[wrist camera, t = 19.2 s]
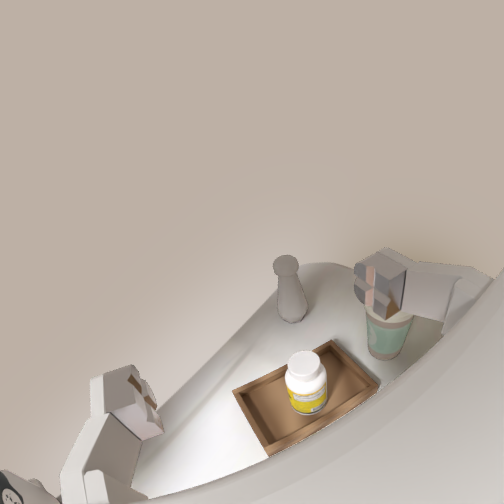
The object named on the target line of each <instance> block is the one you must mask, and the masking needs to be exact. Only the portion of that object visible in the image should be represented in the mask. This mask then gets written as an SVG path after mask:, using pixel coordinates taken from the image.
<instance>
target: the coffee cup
mask: <svg viewBox="0 0 504 504" xmlns="http://www.w3.org/2000/svg"><path fill="white" fill-rule="evenodd" d="M364 308H365V310H366V319H367V334H368V349H369V352H370V353H371V355H372V356H374V357H375V358H377V359H381V360H389V359H392V358H394V357H396V356H397V355H398V354H399V352H400V350H401V348H402V345H403V343H404V341H405V338H406V336H407V333H408V330H409V328H410V325H411V322H412V320H413V317H414V315H413V314H409V313H406V312H402V311H401V310H400V311H399V312H398V313H396V314H395V315H393V316H392V317H390V318H389V319H387V320H386V321H385V320H384V319H382V318H381V317H380V316H378V315H377V314H376V313H374V312H373V309H372V306H366V305H364Z"/></svg>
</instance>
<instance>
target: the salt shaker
mask: <svg viewBox="0 0 504 504" xmlns="http://www.w3.org/2000/svg"><path fill="white" fill-rule="evenodd" d="M298 267H299V265H298V261H297V259H296V258H295V257H293V256H291V255H283V256H280V257H278V258H277V259H276V260H275V261H274V263H273V269H274V272H275V274H276V275H278V299H277V309H278V313H279V315H280V316H281V317H282V318H283V320H285V321H287V322H289V323H291V324H292V323H296V322H299V321H301V320H302V318H303V317H304V315H305V313H306V312H307V308H308V303H307V300H306V298H305V295H304V292H303V289H302V287H301V284H300V281H299V278H298V276H297V273H296V272H297V271H298Z"/></svg>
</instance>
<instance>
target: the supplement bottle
mask: <svg viewBox="0 0 504 504" xmlns="http://www.w3.org/2000/svg"><path fill="white" fill-rule="evenodd" d="M285 382H286V387H287V391H288V395H289V399H290V403H291V406H292V408H293V409H294V410H295V411H296V412H297V413H299V414H302V415H313V414H316V413H318V412H320V411H321V410H322V409H323V408H324V407H325V405H326V403H327V374H326V369H325V367H324V366H323V365H322V364H321V363H320V358H319V356H318V355H317V354H316V353H314V352H312V351H308V350H303V351H299V352H296V353H294V354H293V355H292V356H291V357H290V358H289V360H288V369H287V371H286V374H285Z"/></svg>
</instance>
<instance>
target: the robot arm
mask: <svg viewBox="0 0 504 504" xmlns="http://www.w3.org/2000/svg"><path fill="white" fill-rule="evenodd" d="M354 274H355V275H356V276H357V278H356V281H355V283H354V291H355V294H356V296H357V298H358V299H359V301H360V302H361V303H363V304H364V305H366V306H372V309H373V312H374V313H376V314H377V315H378V316H380V317H381V318H382V319H384V320H385V321H386V320H387V319H389V318H390V317H392V316H393V315H395V314H396V313H398V312H399V311H400V310H401V311H402V312H406V313H409V314H413V315H417V316H421V317H425V318H428V319H432V320H436V321H440V322H444V324H443V327H442V331H441V333H442V335H443V337H442V338H441V339H440V340H439V341H438V342H437V343H436V344H435V345H434V346H433V347H432V348H431V349H430V350H429V351H428V352H426V353H425V354H424V355H423V356H422V357H421V358H420V359H419V360H417V361H416V362H415V363H414V364H413V365H412V366H410V367H409V368H408V369H407V370H406V371H404V372H403V373H402V374H401V375H400V376H398V377H397V378H396V379H395V380H393V381H392V382H391V383H389V384H388V385H387V386H386V387H384V388H383V389H382V390H380V391H379V392H378V393H376V394H375V395H374V396H372V397H371V398H369V399H368V400H367V401H365V402H364V403H362V404H361V405H359V406H358V407H357V408H355V409H354V410H352V411H351V412H349V413H348V414H346V415H345V416H343V417H341V418H340V419H338V420H337V421H335V422H334V423H332V424H330V425H329V426H327V427H325V428H324V429H322V430H320V431H319V432H317V433H315V434H313V435H312V436H310V437H308V438H306V439H304V440H303V441H301V442H299V443H297V444H295V445H293V446H291V447H289V448H288V449H286V450H284V451H282V452H280V453H278V454H276V455H273V456H271V457H269V458H267V459H265V460H263V461H261V462H258V463H256V464H254V465H252V466H249V467H247V468H245V469H242V470H240V471H237V472H235V473H232V474H230V475H227V476H225V477H222V478H219V479H216V480H214V481H211V482H208V483H205V484H202V485H199V486H196V487H193V488H189V489H186V490H183V491H179V492H176V493H172V494H168V495H164V496H160V497H156V498H152V499H148V497H147V496H146V495H144V494H142V493H140V492H138V491H136V490H134V489H132V488H130V487H131V483H132V479H133V475H134V471H135V467H136V464H137V460H138V456H139V452H140V449H141V445H142V442H141V441H143V440H146V439H149V438H152V437H155V436H158V435H160V434H163V433H164V429H163V425H162V422H161V418H160V416H159V415H158V414H157V413H156V411H155V410H156V408H157V403H156V399H155V397H154V394H153V392H152V390H151V388H150V386H149V385H148V384H147V382H146V381H145V380H143V379H140V376H139V371H138V370H137V369H136V367H135V366H134V365H128V366H125V367H122V368H119V369H116V370H113V371H110V372H107V373H105V374H102V375H99V376H96V377H92V378H91V380H90V405H91V406H90V408H91V418H90V419H87V421H86V423H85V424H84V427H83V428H82V430H81V432H80V434H79V436H78V438H77V440H76V442H75V444H74V446H73V448H72V450H71V452H70V454H69V456H68V458H67V460H66V462H65V464H64V466H63V468H62V470H61V472H60V475H59V476H60V487H61V497H62V504H504V268H503V269H502V271H501V272H500V273H499V275H498V276H497V277H496V279H495V280H494V279H493V278H490V277H489V276H487V275H486V274H484V273H482V272H480V271H478V270H477V269H475V268H473V267H470V266H460V265H451V264H441V263H431V262H421V261H420V262H418V263H416V262H415V261H413V260H411V259H409V258H407V257H405V256H403V255H402V254H400V253H398V252H395V251H394V250H392V249H390V248H385V247H384V248H383V249H381V250H379V251H378V252H376V253H375V254H373V255H371V256H369V257H367V258H365V259H363V260H362V261H360V262H358V263H356V264H355V267H354ZM0 504H60V502H59V501H58V500H57V499H56V498H55V497H54V496H52V495H51V494H49V493H48V492H47V491H46V490H45V488H44V487H43V485H42V484H41V483H40V481H38V480H36V479H30V480H26V479H24V478H22V477H20V476H18V475H16V474H14V473H13V472H11V471H9V470H7V469H5V470H1V471H0Z"/></svg>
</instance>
